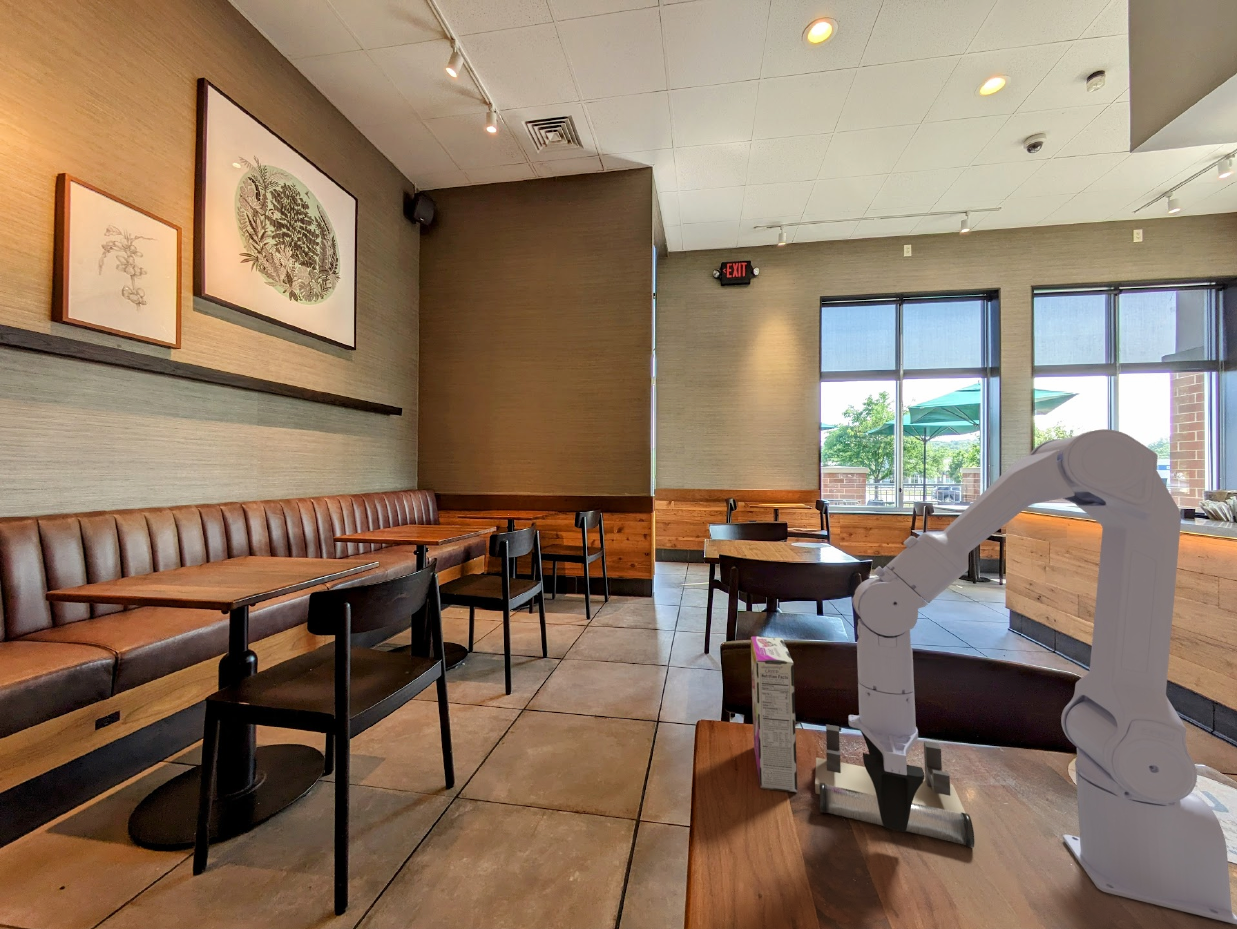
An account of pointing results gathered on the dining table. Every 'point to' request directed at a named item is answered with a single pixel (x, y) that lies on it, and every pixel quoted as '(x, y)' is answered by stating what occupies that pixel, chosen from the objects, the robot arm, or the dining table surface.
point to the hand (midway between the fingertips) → (889, 807)
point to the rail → (920, 818)
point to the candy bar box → (774, 714)
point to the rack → (856, 778)
